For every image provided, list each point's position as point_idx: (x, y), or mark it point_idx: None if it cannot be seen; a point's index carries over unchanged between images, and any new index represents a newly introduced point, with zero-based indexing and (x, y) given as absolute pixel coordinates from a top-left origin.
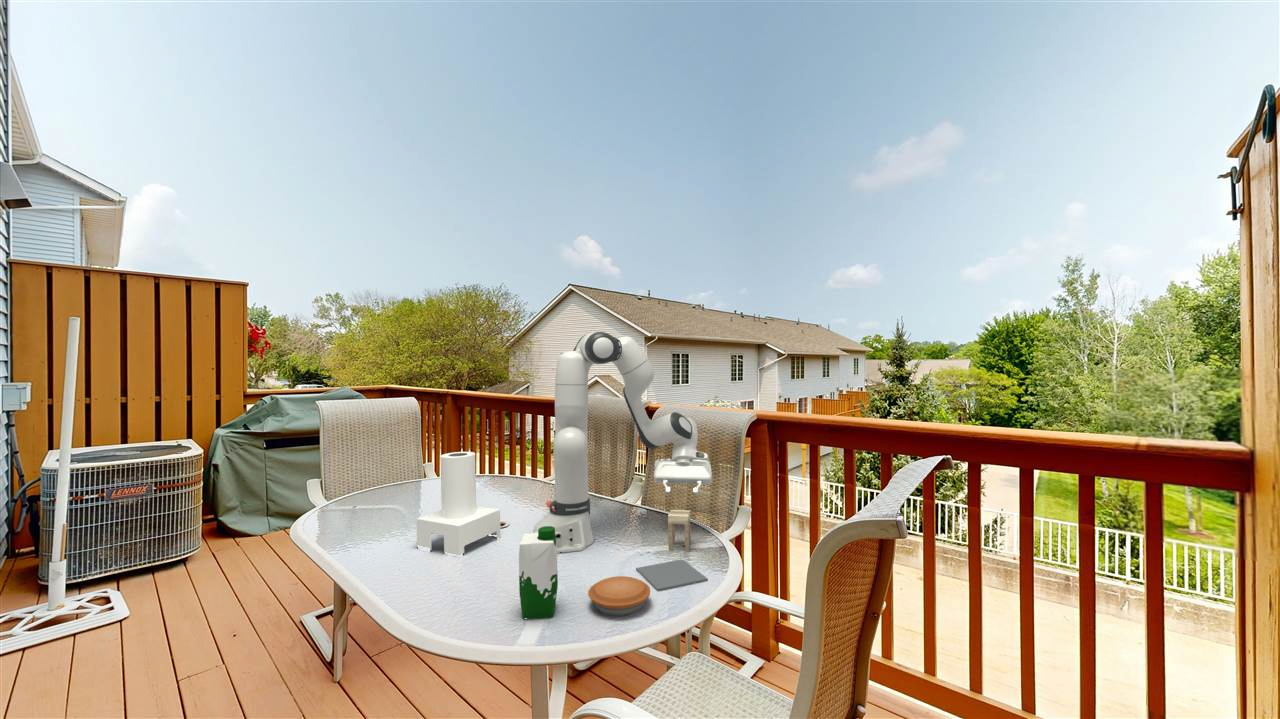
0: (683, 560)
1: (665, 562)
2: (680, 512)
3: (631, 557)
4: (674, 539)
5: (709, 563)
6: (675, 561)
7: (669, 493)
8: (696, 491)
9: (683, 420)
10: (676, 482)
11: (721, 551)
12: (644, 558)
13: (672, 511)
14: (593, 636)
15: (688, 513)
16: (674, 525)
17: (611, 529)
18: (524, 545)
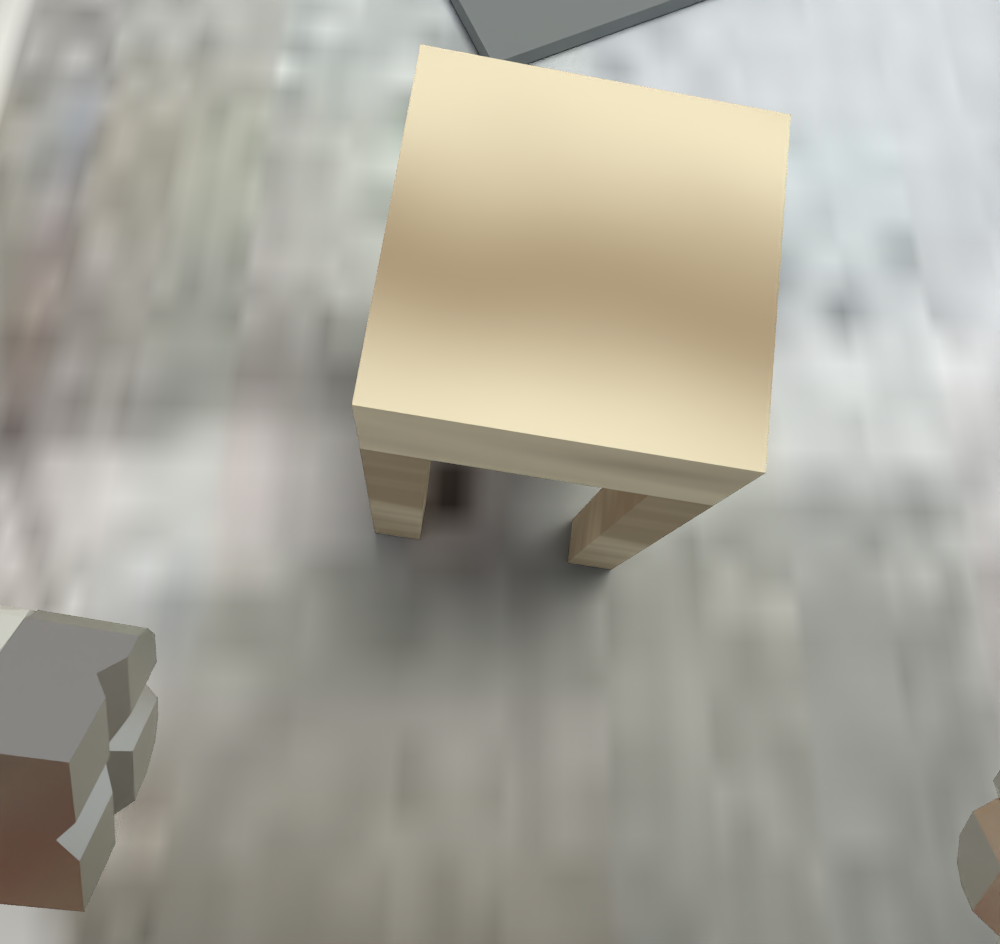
0: (483, 33)
1: (655, 4)
2: (561, 282)
3: (984, 190)
4: (584, 511)
5: (228, 16)
6: (561, 18)
7: (990, 804)
8: (11, 616)
9: None
10: None
11: (36, 302)
12: (859, 161)
13: (723, 357)
14: None
15: (401, 215)
16: (620, 498)
17: None
18: None
